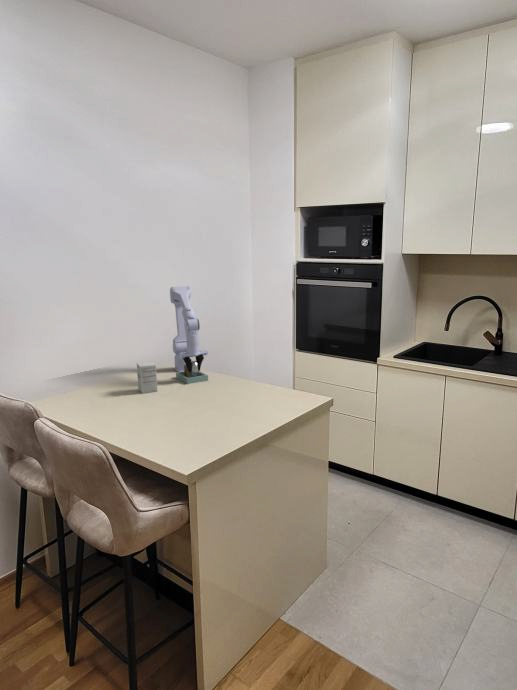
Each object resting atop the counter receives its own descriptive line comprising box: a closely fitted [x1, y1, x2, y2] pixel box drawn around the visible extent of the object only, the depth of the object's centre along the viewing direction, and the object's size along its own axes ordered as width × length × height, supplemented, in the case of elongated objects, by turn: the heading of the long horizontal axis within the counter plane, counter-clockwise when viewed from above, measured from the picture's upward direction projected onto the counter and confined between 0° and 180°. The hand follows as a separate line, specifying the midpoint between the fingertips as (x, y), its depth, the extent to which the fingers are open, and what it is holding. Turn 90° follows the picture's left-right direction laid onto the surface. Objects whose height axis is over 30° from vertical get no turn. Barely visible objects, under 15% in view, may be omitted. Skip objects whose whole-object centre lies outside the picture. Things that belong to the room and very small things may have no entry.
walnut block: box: [184, 364, 191, 378], centre depth 235 cm, size 4×4×6 cm
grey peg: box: [190, 360, 199, 377], centre depth 230 cm, size 4×4×7 cm
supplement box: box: [136, 361, 158, 394], centre depth 215 cm, size 7×7×13 cm
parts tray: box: [175, 370, 209, 385], centre depth 233 cm, size 14×11×3 cm
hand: (194, 371), depth 230 cm, fingers closed on grey peg, 4 cm apart
